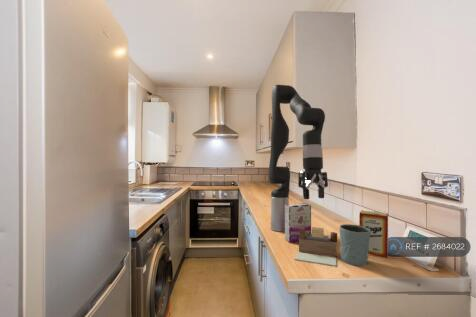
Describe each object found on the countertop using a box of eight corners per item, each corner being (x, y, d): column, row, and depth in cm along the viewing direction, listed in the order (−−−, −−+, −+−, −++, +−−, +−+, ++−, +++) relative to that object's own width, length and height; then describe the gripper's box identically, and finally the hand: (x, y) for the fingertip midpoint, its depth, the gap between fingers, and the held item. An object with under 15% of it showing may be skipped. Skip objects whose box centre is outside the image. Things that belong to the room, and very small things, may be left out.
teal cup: (343, 253, 92) (343, 222, 92) (372, 260, 86) (373, 227, 86) (335, 261, 84) (335, 228, 84) (367, 270, 78) (367, 233, 78)
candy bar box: (305, 237, 111) (305, 202, 111) (311, 241, 106) (311, 204, 106) (284, 239, 108) (284, 203, 108) (289, 242, 103) (289, 205, 103)
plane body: (300, 246, 99) (300, 225, 99) (336, 251, 94) (336, 228, 94) (298, 251, 93) (299, 228, 93) (337, 257, 88) (337, 233, 88)
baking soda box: (359, 252, 94) (359, 211, 94) (361, 247, 99) (361, 209, 99) (387, 257, 88) (387, 215, 89) (388, 252, 94) (388, 212, 94)
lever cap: (307, 235, 97) (307, 226, 97) (328, 238, 94) (328, 228, 94) (306, 239, 93) (307, 229, 93) (328, 241, 90) (328, 231, 90)
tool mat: (296, 253, 92) (296, 251, 92) (335, 258, 87) (335, 257, 87) (294, 259, 85) (294, 258, 85) (336, 266, 80) (336, 265, 80)
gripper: (316, 158, 99) (318, 197, 98) (292, 157, 92) (293, 198, 90) (332, 157, 93) (334, 198, 91) (307, 155, 86) (309, 200, 84)
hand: (314, 198), depth 91 cm, fingers open, 8 cm apart
